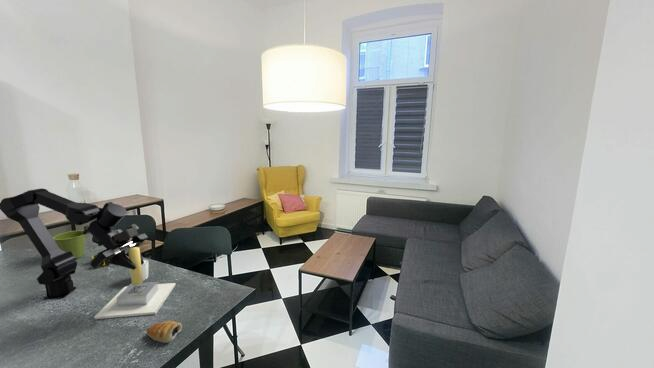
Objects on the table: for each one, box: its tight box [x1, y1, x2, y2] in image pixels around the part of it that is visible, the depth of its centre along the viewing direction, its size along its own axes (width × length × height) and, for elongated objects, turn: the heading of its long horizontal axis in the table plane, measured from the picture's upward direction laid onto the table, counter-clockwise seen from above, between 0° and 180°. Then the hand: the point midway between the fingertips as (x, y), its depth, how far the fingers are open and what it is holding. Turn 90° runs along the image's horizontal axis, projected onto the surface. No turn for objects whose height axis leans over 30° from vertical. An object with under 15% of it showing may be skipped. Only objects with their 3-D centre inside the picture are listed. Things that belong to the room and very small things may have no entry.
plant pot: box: [53, 229, 87, 259], centre depth 126 cm, size 12×12×11 cm
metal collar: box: [117, 281, 159, 307], centre depth 96 cm, size 9×9×4 cm
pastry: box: [146, 320, 183, 344], centre depth 80 cm, size 9×7×4 cm
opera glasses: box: [91, 254, 109, 269], centre depth 122 cm, size 10×5×5 cm, turn 51°
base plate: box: [93, 282, 176, 320], centre depth 96 cm, size 18×18×1 cm
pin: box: [128, 246, 144, 286], centre depth 94 cm, size 3×3×13 cm
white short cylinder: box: [128, 258, 150, 282], centre depth 110 cm, size 7×7×7 cm
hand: (139, 266), depth 94 cm, fingers closed on pin, 3 cm apart
